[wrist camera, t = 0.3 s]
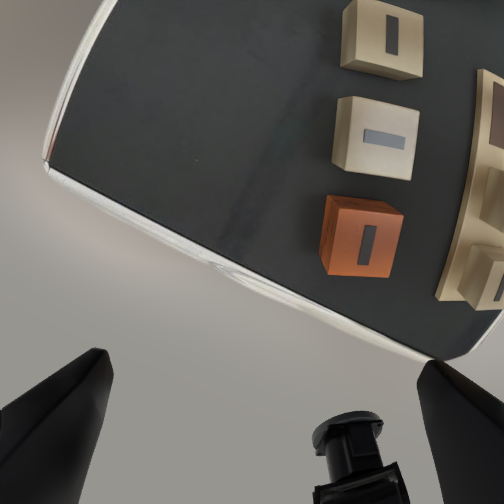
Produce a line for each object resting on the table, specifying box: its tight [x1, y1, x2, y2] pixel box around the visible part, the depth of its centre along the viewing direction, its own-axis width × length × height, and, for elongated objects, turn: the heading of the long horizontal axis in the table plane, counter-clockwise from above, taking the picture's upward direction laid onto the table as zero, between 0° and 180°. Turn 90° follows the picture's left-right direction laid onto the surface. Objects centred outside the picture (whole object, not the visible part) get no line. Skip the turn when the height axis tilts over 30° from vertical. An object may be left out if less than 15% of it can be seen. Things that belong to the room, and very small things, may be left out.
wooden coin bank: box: [318, 195, 404, 278], centre depth 18 cm, size 4×4×3 cm
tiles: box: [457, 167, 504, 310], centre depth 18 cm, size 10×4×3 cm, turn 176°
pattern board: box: [435, 69, 504, 301], centre depth 18 cm, size 18×7×1 cm, turn 176°
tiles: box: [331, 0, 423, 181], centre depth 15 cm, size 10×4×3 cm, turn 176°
